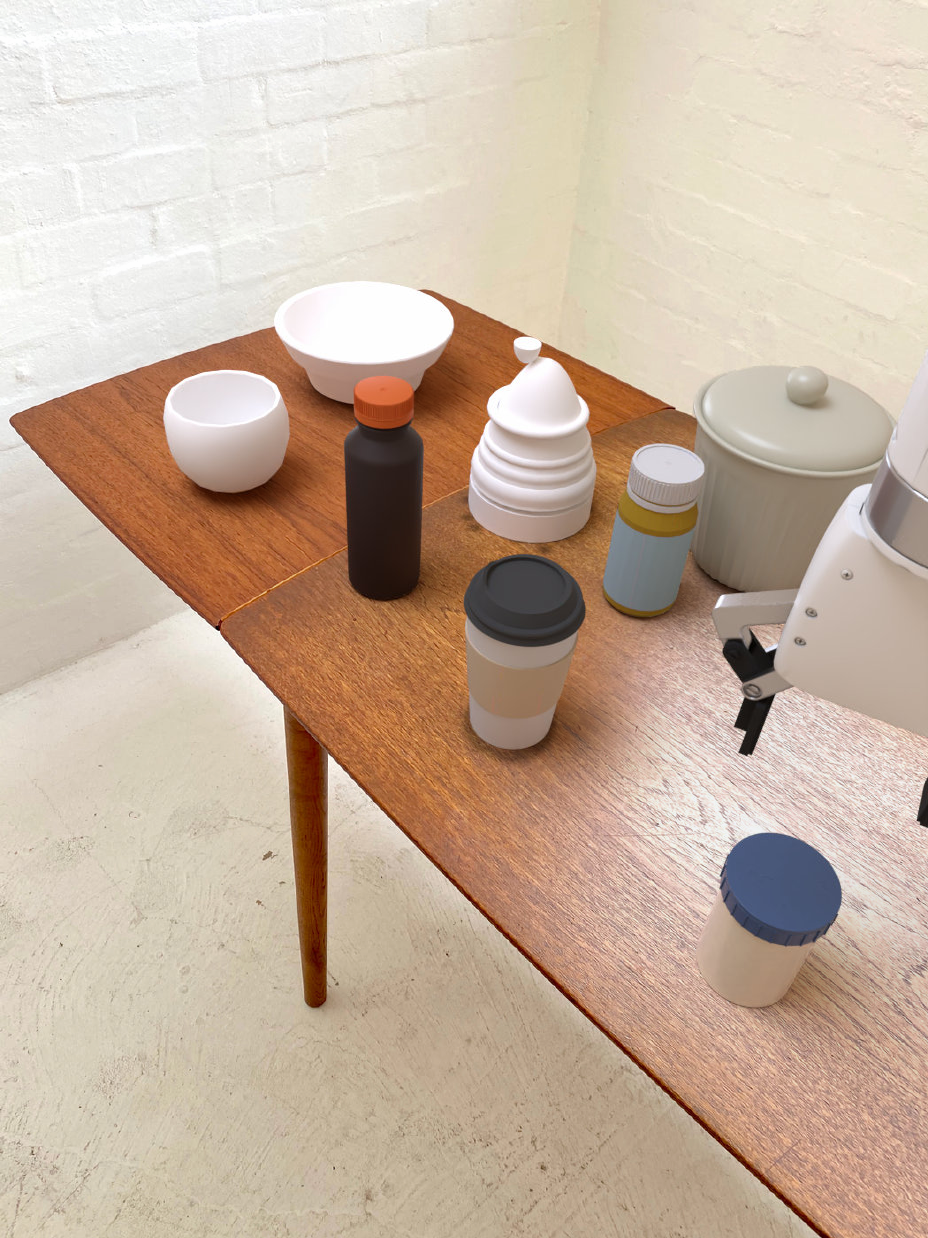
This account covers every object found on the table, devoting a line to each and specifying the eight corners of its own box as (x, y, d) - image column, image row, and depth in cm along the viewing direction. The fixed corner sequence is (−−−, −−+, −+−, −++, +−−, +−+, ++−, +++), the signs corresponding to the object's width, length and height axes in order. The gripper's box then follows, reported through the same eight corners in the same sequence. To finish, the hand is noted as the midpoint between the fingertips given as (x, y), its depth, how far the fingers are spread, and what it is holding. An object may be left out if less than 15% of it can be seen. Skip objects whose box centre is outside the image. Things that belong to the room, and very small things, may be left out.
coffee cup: (574, 692, 83) (600, 554, 73) (552, 772, 77) (577, 633, 67) (472, 667, 85) (483, 529, 75) (442, 744, 78) (450, 604, 68)
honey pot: (452, 526, 100) (461, 365, 87) (487, 460, 109) (500, 306, 97) (575, 554, 97) (602, 393, 85) (601, 485, 106) (628, 330, 94)
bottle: (594, 610, 91) (620, 476, 81) (608, 566, 96) (634, 434, 86) (669, 628, 90) (705, 494, 80) (679, 582, 95) (714, 450, 85)
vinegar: (388, 611, 90) (388, 420, 76) (333, 580, 92) (324, 391, 79) (434, 575, 94) (442, 388, 80) (380, 546, 97) (379, 361, 83)
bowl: (350, 447, 109) (348, 381, 104) (245, 373, 120) (238, 309, 115) (486, 389, 120) (491, 327, 115) (379, 326, 131) (378, 266, 126)
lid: (844, 876, 62) (853, 861, 60) (820, 967, 57) (829, 953, 56) (736, 830, 64) (742, 814, 62) (704, 915, 59) (711, 900, 58)
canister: (826, 645, 89) (909, 448, 75) (637, 584, 94) (680, 388, 80) (855, 538, 102) (931, 351, 87) (686, 489, 107) (732, 305, 92)
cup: (312, 492, 103) (307, 411, 96) (199, 525, 97) (186, 442, 91) (264, 435, 110) (256, 356, 104) (157, 464, 105) (142, 383, 98)
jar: (801, 944, 67) (845, 866, 61) (779, 1025, 63) (823, 950, 56) (711, 904, 69) (744, 823, 62) (683, 979, 65) (715, 901, 58)
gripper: (1194, 528, 40) (1014, 787, 52) (780, 410, 46) (700, 669, 57) (1203, 636, 35) (1001, 896, 47) (736, 490, 41) (659, 756, 52)
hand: (836, 771), depth 52 cm, fingers open, 9 cm apart
